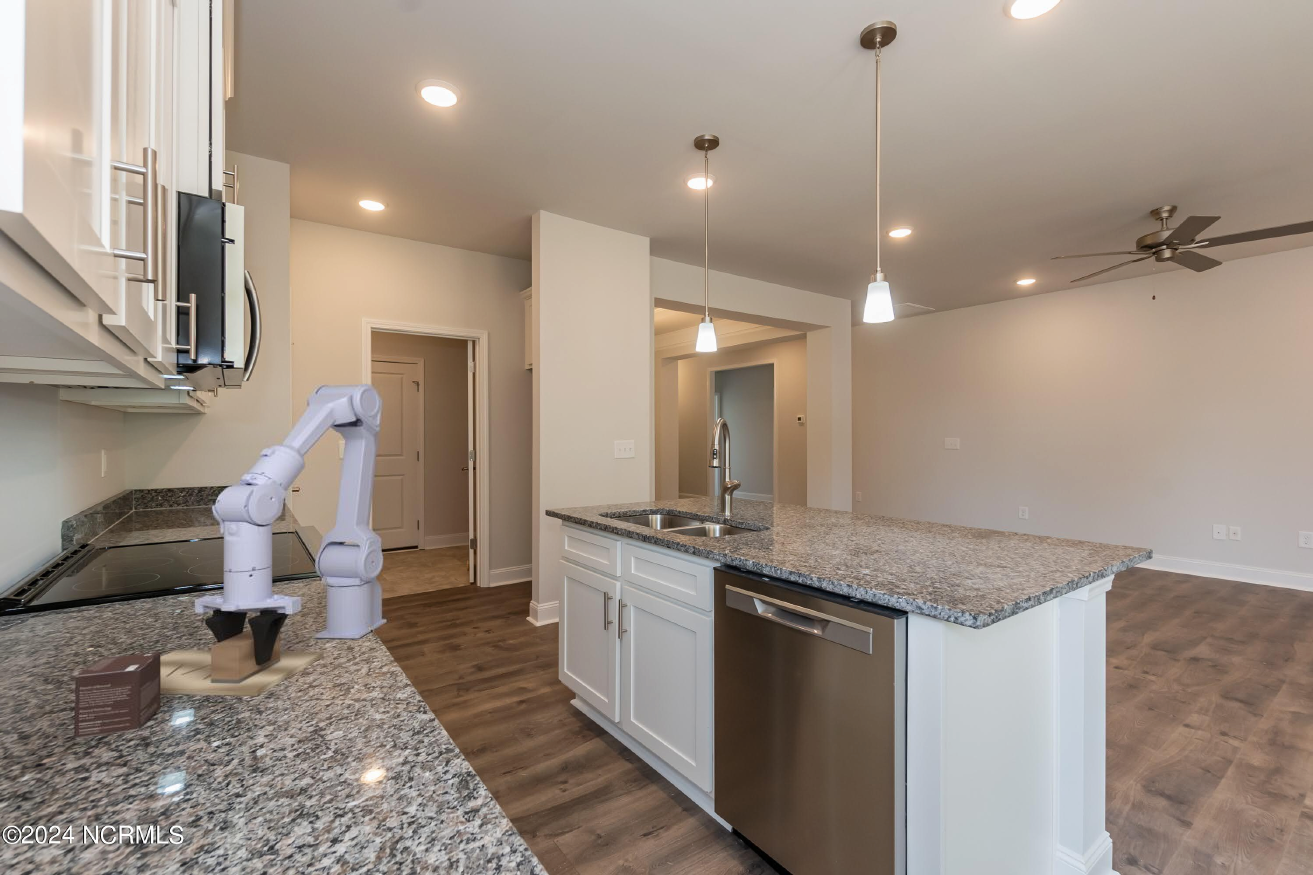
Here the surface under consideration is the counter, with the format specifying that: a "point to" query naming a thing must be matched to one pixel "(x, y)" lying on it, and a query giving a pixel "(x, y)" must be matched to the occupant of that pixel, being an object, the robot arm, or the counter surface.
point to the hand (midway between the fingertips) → (248, 662)
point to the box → (117, 694)
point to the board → (194, 678)
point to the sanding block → (238, 659)
